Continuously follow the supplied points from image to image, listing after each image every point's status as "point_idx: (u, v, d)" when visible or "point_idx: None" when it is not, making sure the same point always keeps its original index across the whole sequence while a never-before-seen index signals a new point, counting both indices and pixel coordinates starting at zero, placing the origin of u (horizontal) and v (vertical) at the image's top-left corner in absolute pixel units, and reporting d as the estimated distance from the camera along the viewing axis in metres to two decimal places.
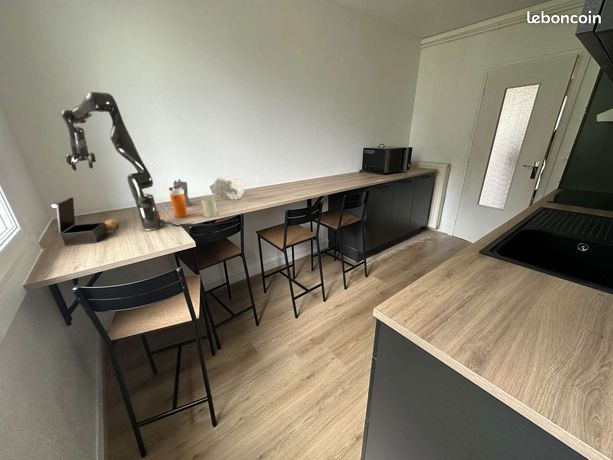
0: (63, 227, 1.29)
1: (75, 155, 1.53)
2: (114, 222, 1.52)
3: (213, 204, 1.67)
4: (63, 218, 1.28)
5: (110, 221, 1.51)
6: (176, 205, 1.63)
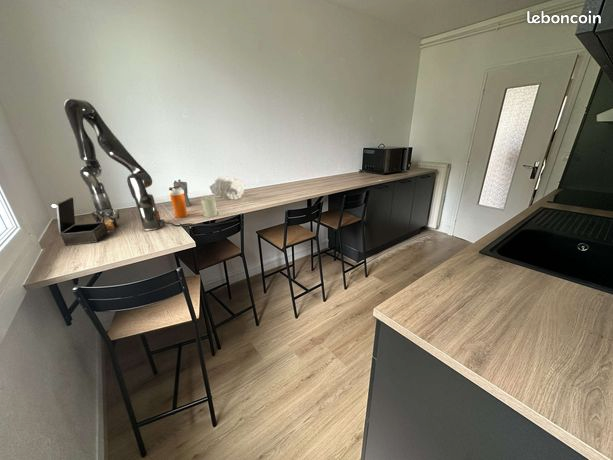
0: (63, 227, 1.29)
1: (97, 211, 1.46)
2: None
3: (213, 204, 1.67)
4: (63, 218, 1.28)
5: (110, 221, 1.51)
6: (176, 205, 1.63)
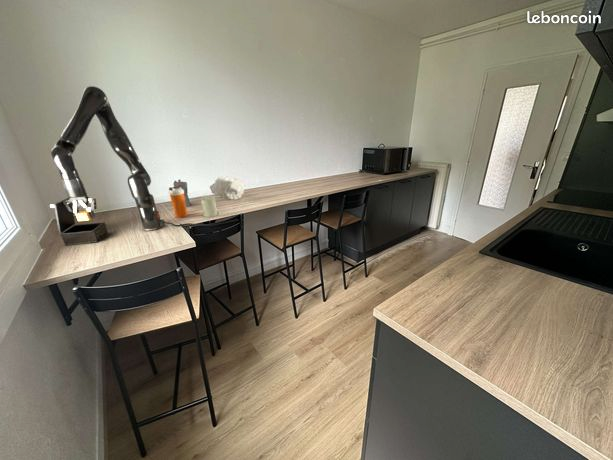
0: (63, 227, 1.29)
1: (70, 199, 1.28)
2: None
3: (213, 204, 1.67)
4: (62, 218, 1.28)
5: (86, 211, 1.32)
6: (176, 205, 1.63)
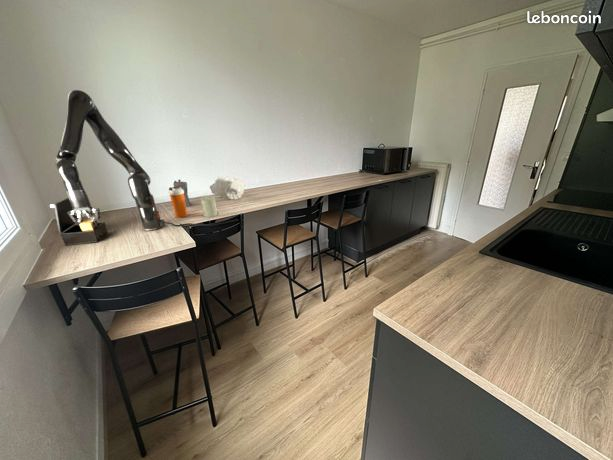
0: (63, 227, 1.29)
1: (74, 210, 1.30)
2: None
3: (213, 204, 1.67)
4: (62, 218, 1.28)
5: (89, 221, 1.35)
6: (176, 205, 1.63)
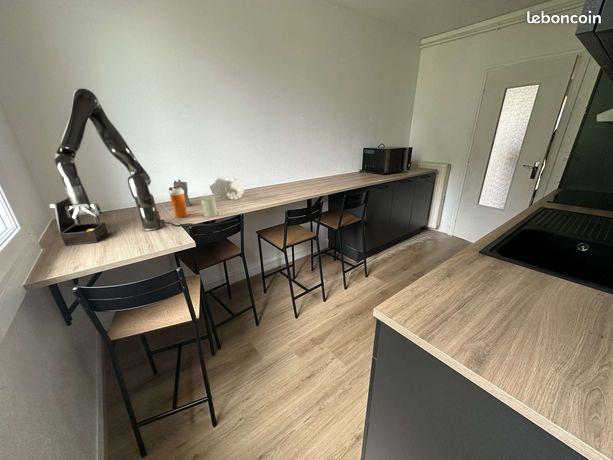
0: (63, 227, 1.29)
1: (73, 206, 1.29)
2: None
3: (213, 204, 1.67)
4: (62, 218, 1.28)
5: None
6: (176, 205, 1.63)
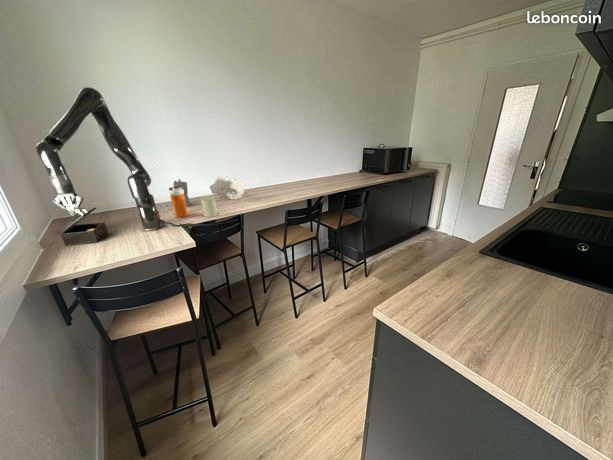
0: (66, 229, 1.30)
1: (57, 196, 1.26)
2: None
3: (213, 204, 1.67)
4: (74, 223, 1.30)
5: None
6: (176, 205, 1.63)
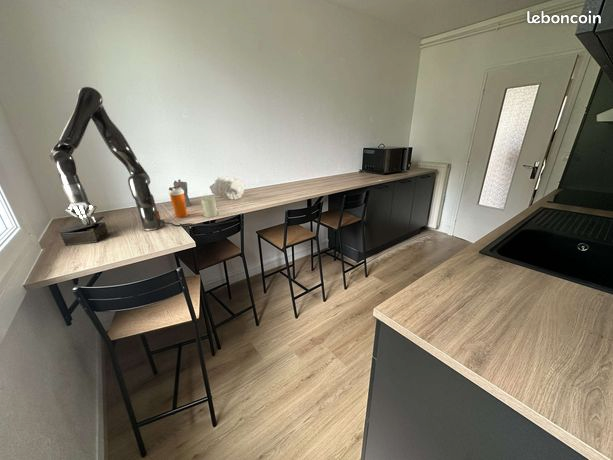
0: None
1: (70, 205, 1.25)
2: None
3: (213, 204, 1.67)
4: None
5: None
6: (176, 205, 1.63)
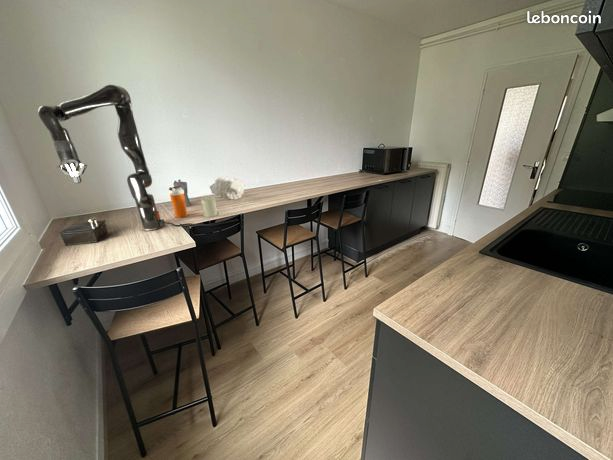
0: None
1: (61, 162, 1.29)
2: None
3: (213, 204, 1.67)
4: None
5: None
6: (176, 205, 1.63)
